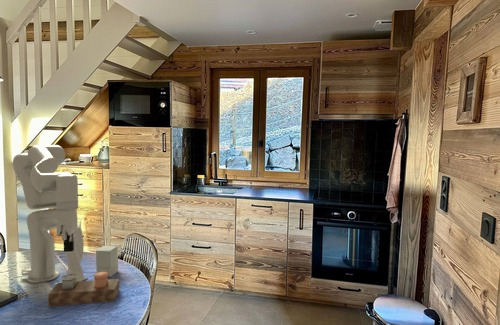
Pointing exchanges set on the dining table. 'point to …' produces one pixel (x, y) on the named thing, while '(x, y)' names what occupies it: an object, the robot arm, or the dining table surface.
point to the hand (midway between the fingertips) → (68, 250)
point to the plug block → (83, 293)
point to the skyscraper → (76, 255)
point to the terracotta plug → (101, 279)
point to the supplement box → (107, 260)
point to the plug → (69, 281)
